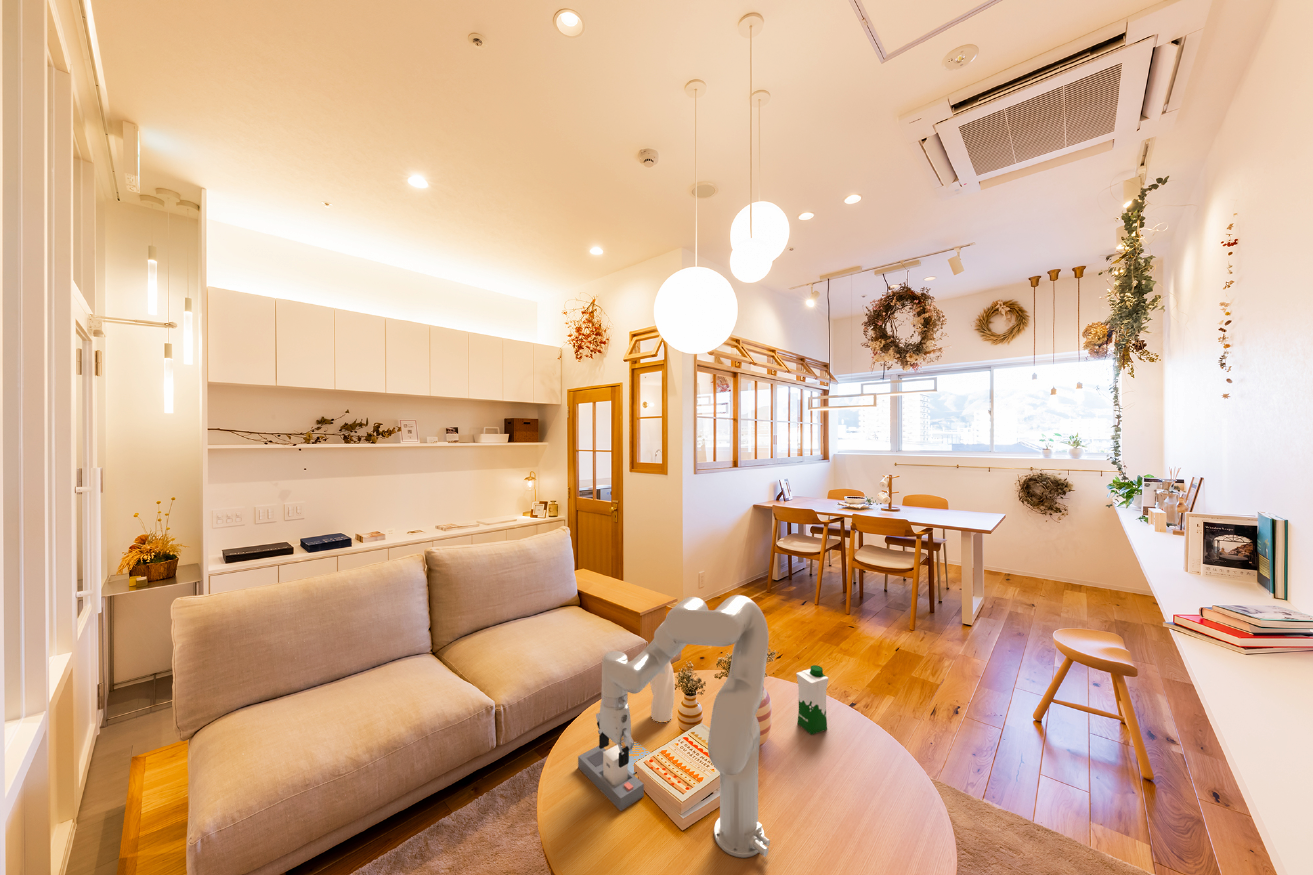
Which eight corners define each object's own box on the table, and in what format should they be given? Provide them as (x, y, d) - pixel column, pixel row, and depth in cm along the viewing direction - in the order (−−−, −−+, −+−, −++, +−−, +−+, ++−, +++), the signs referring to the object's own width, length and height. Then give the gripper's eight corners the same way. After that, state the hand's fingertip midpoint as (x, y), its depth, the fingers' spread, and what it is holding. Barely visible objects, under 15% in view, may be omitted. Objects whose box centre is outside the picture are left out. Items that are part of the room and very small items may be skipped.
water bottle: (674, 726, 163) (674, 646, 163) (649, 726, 163) (648, 646, 163) (674, 709, 173) (674, 634, 173) (650, 709, 174) (649, 634, 173)
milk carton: (831, 730, 161) (831, 672, 161) (811, 737, 157) (810, 678, 157) (812, 716, 169) (812, 661, 169) (793, 722, 165) (793, 666, 165)
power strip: (643, 796, 132) (643, 782, 132) (620, 811, 127) (620, 796, 127) (600, 755, 149) (599, 743, 149) (578, 767, 143) (578, 754, 143)
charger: (627, 780, 135) (627, 753, 135) (613, 789, 132) (613, 761, 132) (617, 771, 139) (617, 744, 139) (603, 779, 136) (603, 752, 136)
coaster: (657, 760, 146) (657, 758, 146) (629, 776, 139) (629, 775, 139) (635, 742, 155) (635, 741, 155) (608, 757, 148) (608, 756, 148)
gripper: (643, 706, 131) (642, 766, 131) (608, 680, 144) (607, 735, 145) (621, 716, 126) (620, 779, 127) (587, 688, 139) (586, 745, 140)
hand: (613, 755), depth 136 cm, fingers open, 9 cm apart
